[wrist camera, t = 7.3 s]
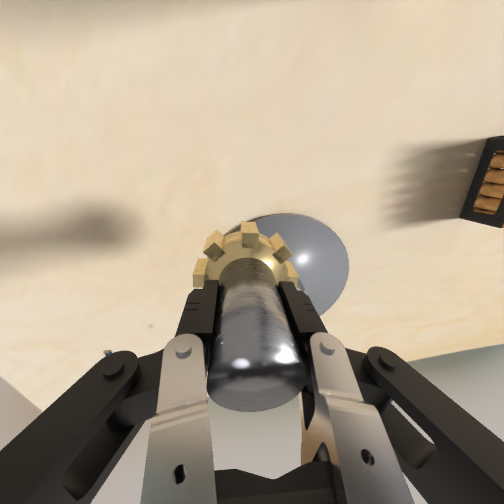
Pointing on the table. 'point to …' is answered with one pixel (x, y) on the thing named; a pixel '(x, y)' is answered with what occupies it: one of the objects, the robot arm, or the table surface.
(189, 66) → the table surface
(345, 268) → the carrier plate
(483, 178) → the ammunition clip
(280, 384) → the planet gear
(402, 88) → the table surface
